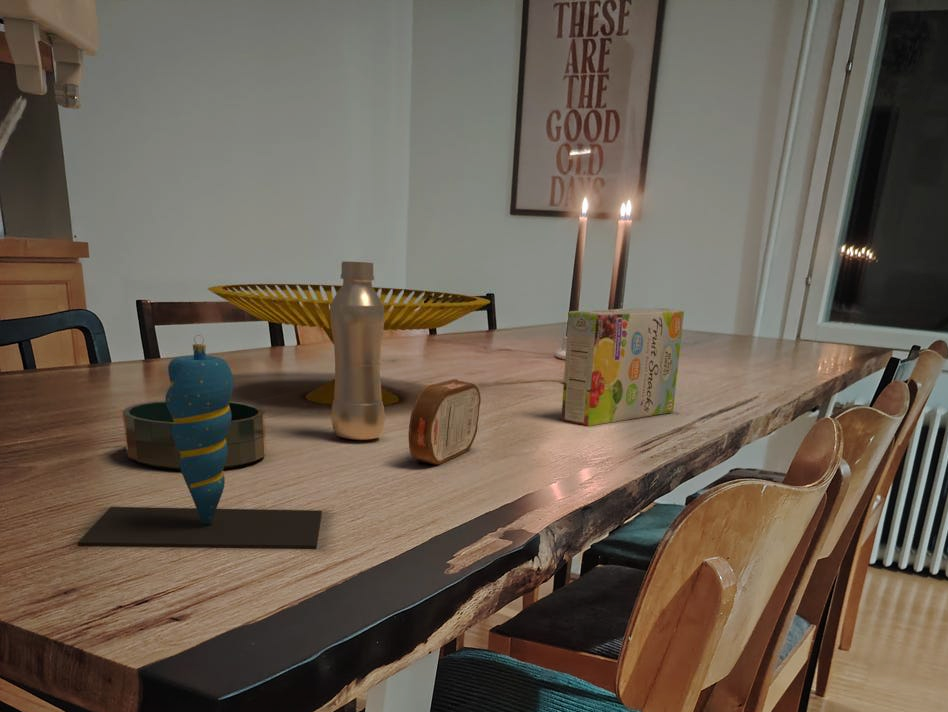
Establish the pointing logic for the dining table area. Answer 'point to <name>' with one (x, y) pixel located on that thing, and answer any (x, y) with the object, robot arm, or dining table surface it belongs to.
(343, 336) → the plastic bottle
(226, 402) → the ornament
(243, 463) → the bowl
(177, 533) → the mat
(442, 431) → the tin
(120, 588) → the dining table surface
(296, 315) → the cake stand
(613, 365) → the snack box
